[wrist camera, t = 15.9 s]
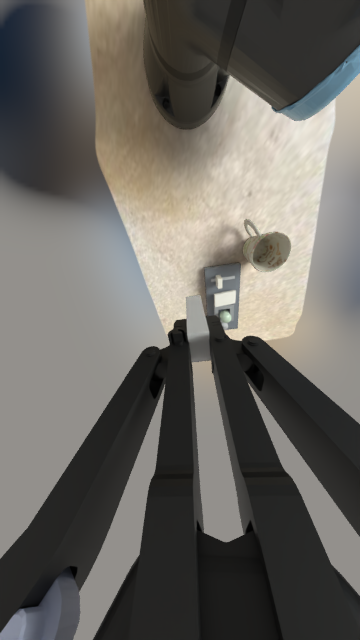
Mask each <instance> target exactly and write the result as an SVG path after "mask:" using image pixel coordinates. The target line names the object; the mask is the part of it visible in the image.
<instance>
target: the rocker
mask: <svg viewBox="0 0 360 640" xmlns="http://www.w3.org/2000/svg"><path fill="white" fill-rule="evenodd" d="M235 302H236V290H231V291H226V292H221V293H216V294H214V306H215V307H219V306H224V305H229V304H233V303H235Z"/></svg>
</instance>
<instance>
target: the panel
mask: <svg viewBox="0 0 360 640" xmlns="http://www.w3.org/2000/svg"><path fill="white" fill-rule="evenodd" d="M240 270H241V264H240V263H232V264H225V265H219V266H212V267H205V268H204V272H205V287H206V302H207V316H213V315H216V316H217V317H219V319H220V322H221V324H222V326H224V327H225V330H228V329H237V328H238V310H239V290H240ZM215 275H220V276H221V277H222V288H221V289H218V288H217V286H216V276H215ZM231 290H236V302H235V303H233V304H229V305H224V306H219V307H215V306H214V294H216V293H221V292H226V291H231ZM223 310H227V311H228V312H229V314H230V315H231V321H230V322H228V323H223V322H222V320H221V318H220V312H221V311H223Z"/></svg>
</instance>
